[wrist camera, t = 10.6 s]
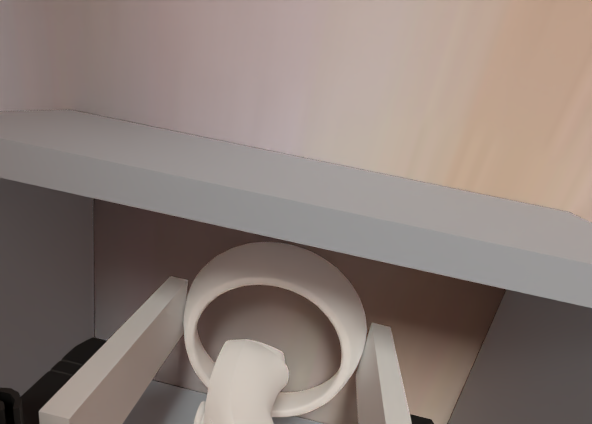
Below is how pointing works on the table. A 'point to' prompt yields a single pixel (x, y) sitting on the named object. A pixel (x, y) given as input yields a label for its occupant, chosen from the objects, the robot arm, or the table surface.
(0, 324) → the well
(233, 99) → the table surface
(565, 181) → the table surface
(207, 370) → the white ring with handle
